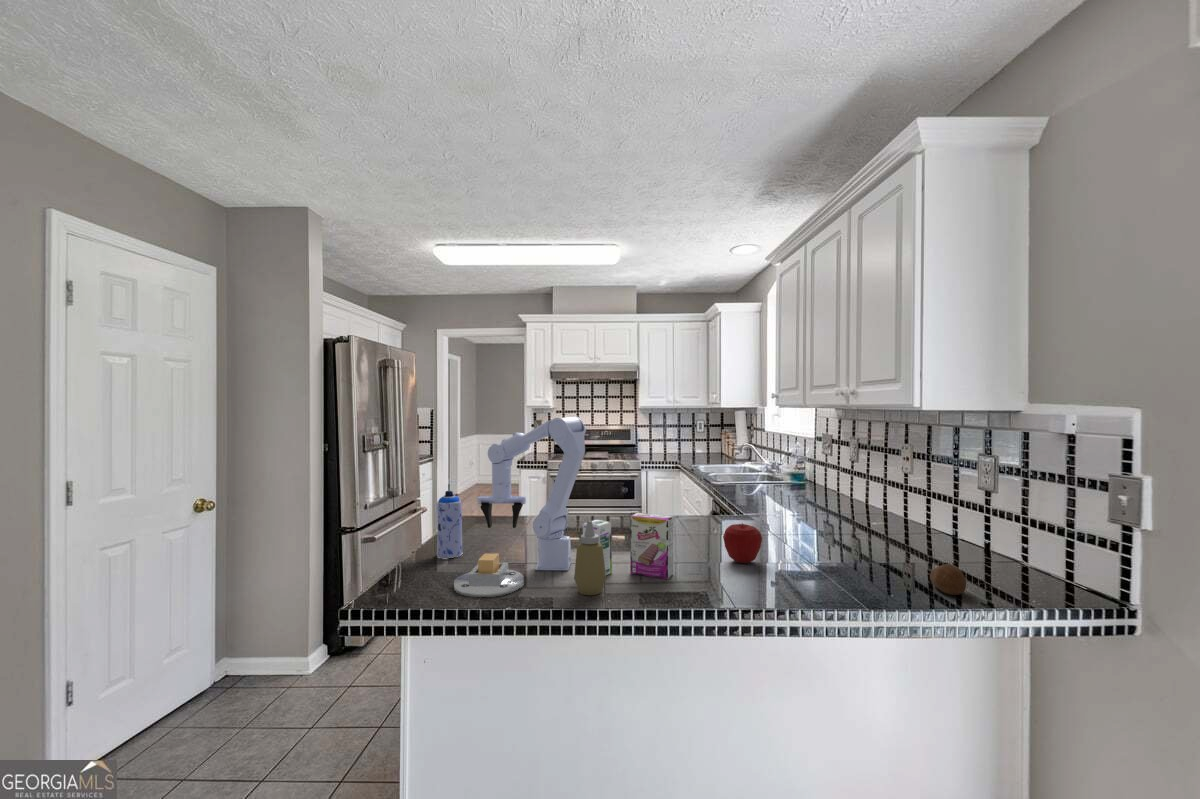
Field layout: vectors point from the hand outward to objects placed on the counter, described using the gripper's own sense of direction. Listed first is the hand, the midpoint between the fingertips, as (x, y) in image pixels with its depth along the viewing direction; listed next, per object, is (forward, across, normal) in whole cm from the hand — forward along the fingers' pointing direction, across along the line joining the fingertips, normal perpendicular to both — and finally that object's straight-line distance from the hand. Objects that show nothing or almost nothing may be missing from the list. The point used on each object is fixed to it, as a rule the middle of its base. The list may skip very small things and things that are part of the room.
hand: (502, 527), depth 175 cm
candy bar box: (+10, +45, -14) cm, 48 cm away
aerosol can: (+10, -17, +2) cm, 20 cm away
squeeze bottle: (+10, +29, -28) cm, 41 cm away
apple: (+10, +72, -2) cm, 73 cm away
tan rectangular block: (+8, +2, -24) cm, 25 cm away
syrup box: (+10, +30, -14) cm, 34 cm away
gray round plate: (+9, +2, -24) cm, 26 cm away
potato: (+10, +119, -24) cm, 122 cm away
